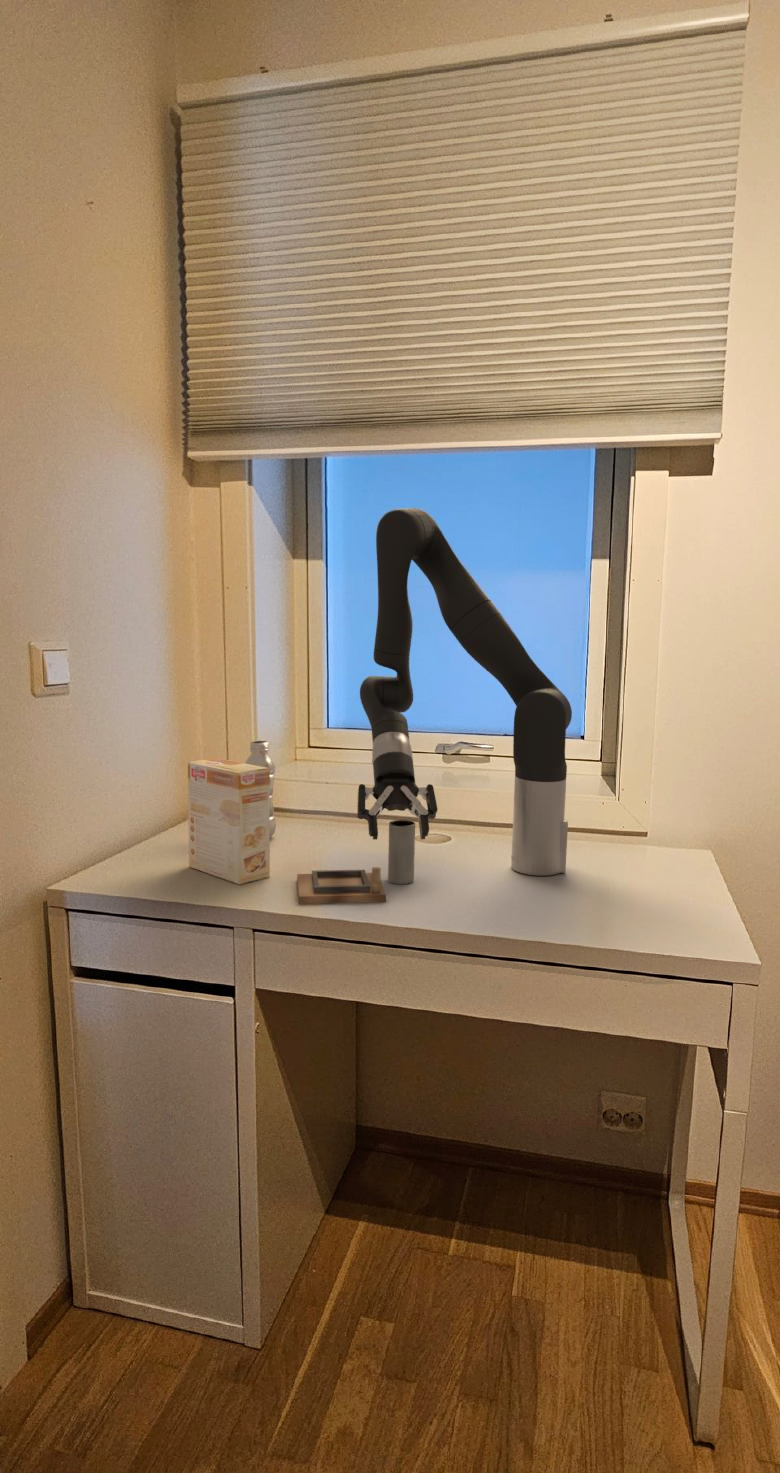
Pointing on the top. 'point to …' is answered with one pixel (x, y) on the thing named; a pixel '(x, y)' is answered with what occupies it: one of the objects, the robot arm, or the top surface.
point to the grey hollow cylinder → (401, 852)
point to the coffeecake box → (229, 819)
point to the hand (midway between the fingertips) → (399, 837)
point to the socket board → (341, 886)
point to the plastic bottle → (263, 759)
